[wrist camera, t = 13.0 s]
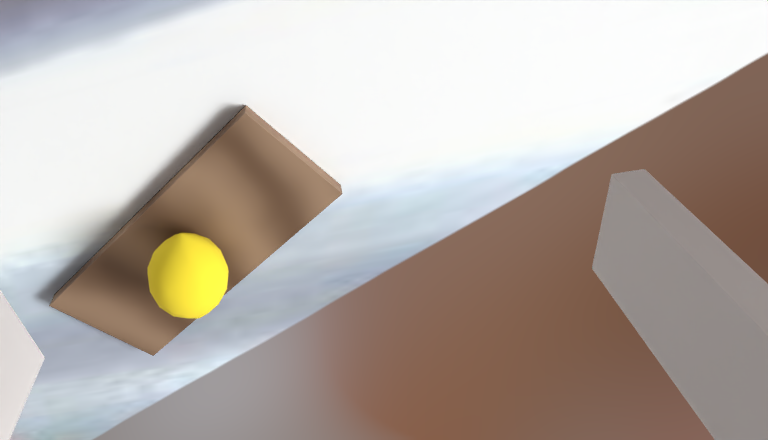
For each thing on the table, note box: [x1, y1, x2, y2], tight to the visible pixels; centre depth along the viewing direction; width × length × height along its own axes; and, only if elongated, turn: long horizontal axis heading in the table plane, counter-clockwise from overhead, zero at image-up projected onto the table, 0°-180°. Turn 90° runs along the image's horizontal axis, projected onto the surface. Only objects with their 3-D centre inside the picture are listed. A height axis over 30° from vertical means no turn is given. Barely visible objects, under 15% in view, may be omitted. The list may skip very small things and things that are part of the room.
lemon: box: [148, 233, 229, 318], centre depth 39 cm, size 7×5×5 cm
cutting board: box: [49, 106, 342, 356], centre depth 41 cm, size 22×9×1 cm, turn 131°
